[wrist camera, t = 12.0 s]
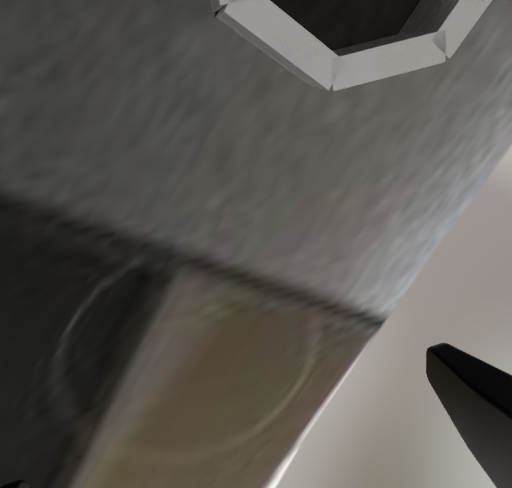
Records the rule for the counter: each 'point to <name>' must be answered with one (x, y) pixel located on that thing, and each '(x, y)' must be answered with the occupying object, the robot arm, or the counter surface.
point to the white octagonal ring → (357, 56)
